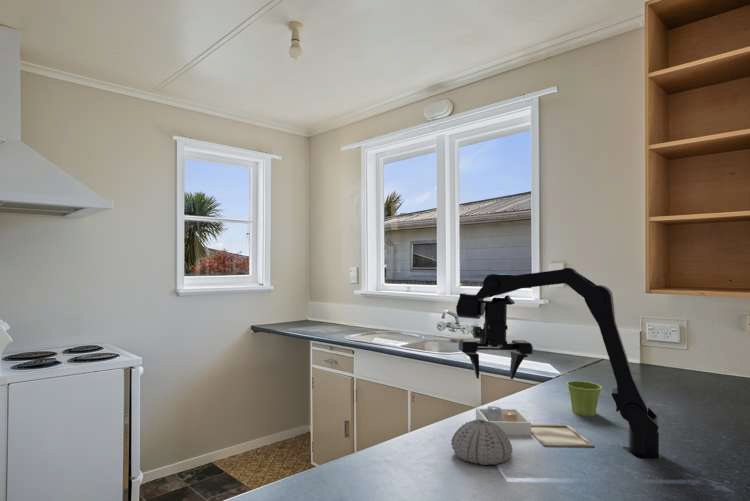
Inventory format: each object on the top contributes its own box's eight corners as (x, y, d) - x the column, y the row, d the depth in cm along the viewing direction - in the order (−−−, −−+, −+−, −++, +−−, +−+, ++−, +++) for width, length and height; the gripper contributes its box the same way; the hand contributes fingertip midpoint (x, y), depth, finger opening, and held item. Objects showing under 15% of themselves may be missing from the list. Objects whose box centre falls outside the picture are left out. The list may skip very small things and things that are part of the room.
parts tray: (594, 449, 110) (594, 445, 110) (543, 448, 110) (544, 444, 110) (568, 428, 124) (568, 424, 124) (523, 428, 124) (523, 424, 124)
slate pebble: (502, 425, 124) (502, 410, 124) (489, 425, 124) (489, 410, 124) (498, 421, 127) (498, 406, 127) (485, 420, 127) (485, 406, 127)
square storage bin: (530, 437, 118) (531, 422, 118) (486, 436, 117) (486, 422, 117) (516, 422, 129) (516, 408, 129) (475, 421, 128) (476, 408, 128)
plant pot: (605, 421, 131) (606, 390, 131) (570, 418, 133) (570, 387, 133) (596, 411, 140) (597, 382, 141) (563, 408, 142) (563, 379, 142)
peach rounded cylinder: (519, 431, 119) (519, 415, 120) (505, 431, 119) (505, 415, 119) (514, 426, 123) (515, 411, 123) (501, 426, 123) (501, 411, 123)
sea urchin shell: (440, 449, 109) (441, 414, 109) (490, 443, 113) (490, 409, 114) (472, 474, 96) (472, 434, 96) (526, 465, 101) (526, 428, 101)
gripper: (519, 317, 135) (518, 372, 134) (455, 316, 134) (454, 371, 134) (533, 322, 123) (533, 382, 123) (463, 321, 123) (462, 380, 122)
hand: (494, 378), depth 126 cm, fingers open, 9 cm apart
